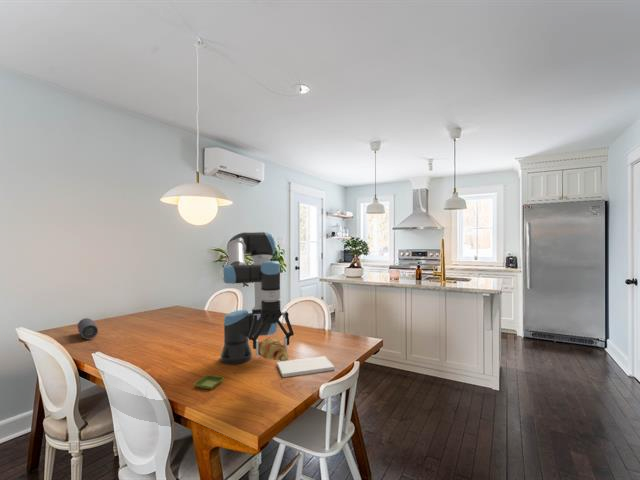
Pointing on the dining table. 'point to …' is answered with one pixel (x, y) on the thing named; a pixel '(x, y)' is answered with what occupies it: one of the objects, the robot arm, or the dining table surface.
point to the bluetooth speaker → (87, 328)
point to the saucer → (209, 382)
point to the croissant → (272, 349)
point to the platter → (304, 366)
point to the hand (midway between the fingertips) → (271, 354)
